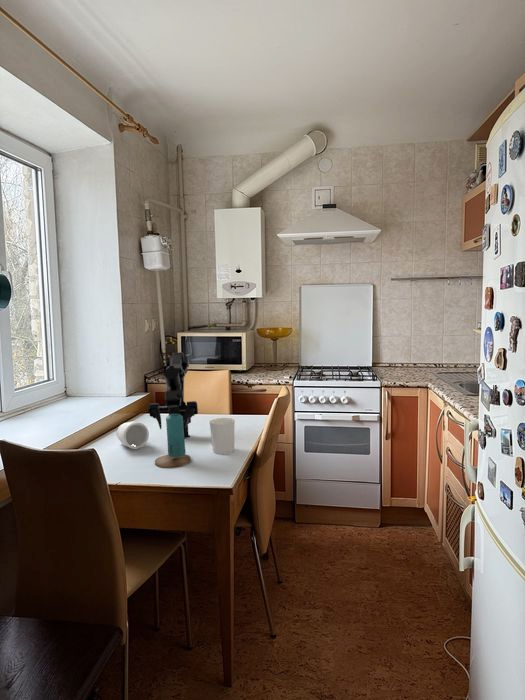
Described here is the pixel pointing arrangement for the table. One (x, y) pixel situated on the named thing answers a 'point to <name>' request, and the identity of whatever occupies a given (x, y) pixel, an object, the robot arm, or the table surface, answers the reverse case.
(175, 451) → the beverage bottle
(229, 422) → the white cup
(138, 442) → the jar
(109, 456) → the table surface
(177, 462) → the walnut coaster
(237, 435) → the table surface
